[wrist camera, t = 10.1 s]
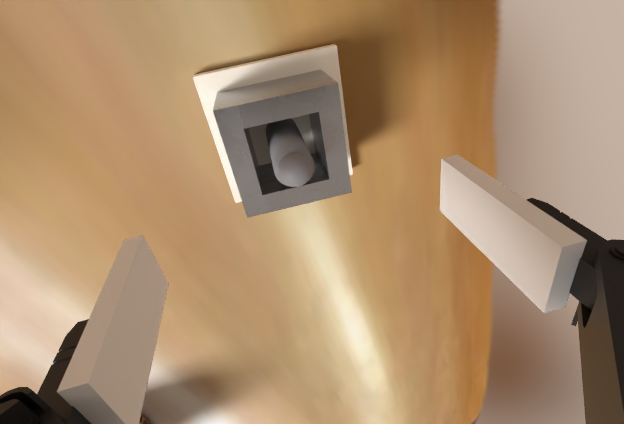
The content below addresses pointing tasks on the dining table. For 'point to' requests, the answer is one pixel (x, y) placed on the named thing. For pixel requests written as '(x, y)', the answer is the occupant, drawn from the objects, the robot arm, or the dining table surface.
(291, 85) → the grey square storage bin
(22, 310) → the dining table surface
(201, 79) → the peg stand
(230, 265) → the dining table surface
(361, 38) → the dining table surface
